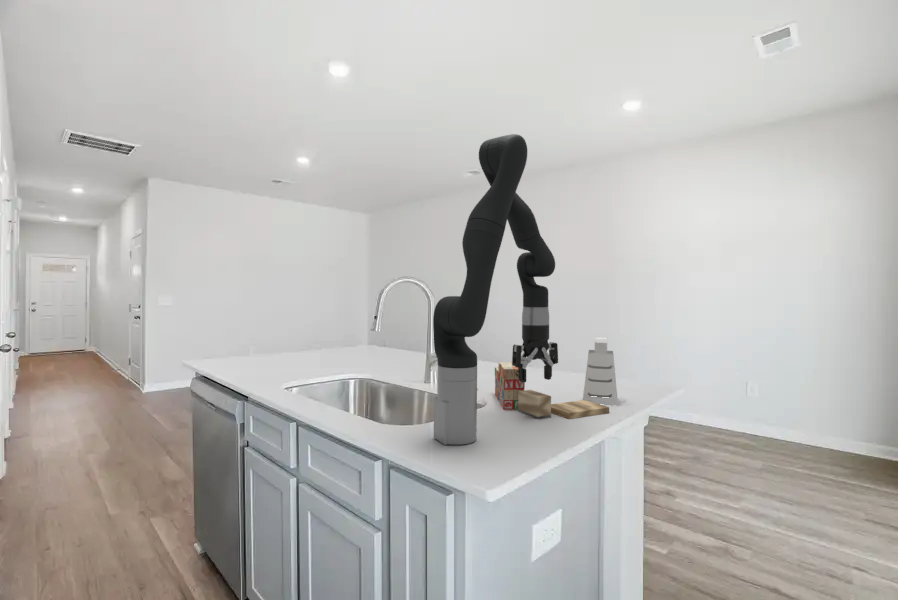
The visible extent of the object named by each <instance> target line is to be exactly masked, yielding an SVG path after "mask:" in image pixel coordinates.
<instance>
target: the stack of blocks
mask: <svg viewBox="0 0 898 600" xmlns="http://www.w3.org/2000/svg"><path fill="white" fill-rule="evenodd" d="M525 383H526V382H520V380H519V378H518V367H515V366H513V365H512V361H511V362H510V361H509V362H508V361H507V362H505V361H500V362H498V366H495V367H494V384H495V385H494V390H495V391H494V395H496V396H495V397H496V398H497V401H498V402H499V404H500V406H501V408H502V410H503V411H515V410H516V411H518V392H519V391H525V386H526V385H525Z"/></svg>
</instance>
